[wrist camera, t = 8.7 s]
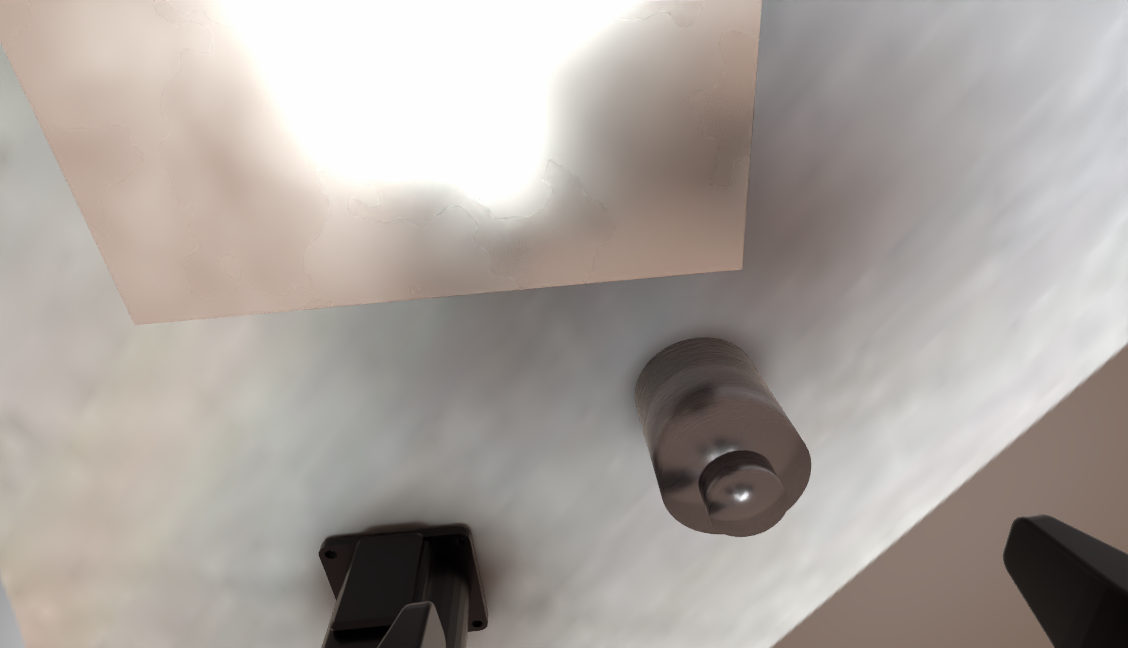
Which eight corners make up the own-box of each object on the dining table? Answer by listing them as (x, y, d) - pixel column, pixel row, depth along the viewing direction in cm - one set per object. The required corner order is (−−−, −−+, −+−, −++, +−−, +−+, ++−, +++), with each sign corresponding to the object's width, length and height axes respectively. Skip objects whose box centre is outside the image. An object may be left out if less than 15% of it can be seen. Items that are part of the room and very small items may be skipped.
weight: (751, 433, 24) (817, 555, 19) (635, 444, 24) (668, 570, 19) (761, 332, 22) (839, 436, 16) (633, 343, 22) (669, 453, 16)
